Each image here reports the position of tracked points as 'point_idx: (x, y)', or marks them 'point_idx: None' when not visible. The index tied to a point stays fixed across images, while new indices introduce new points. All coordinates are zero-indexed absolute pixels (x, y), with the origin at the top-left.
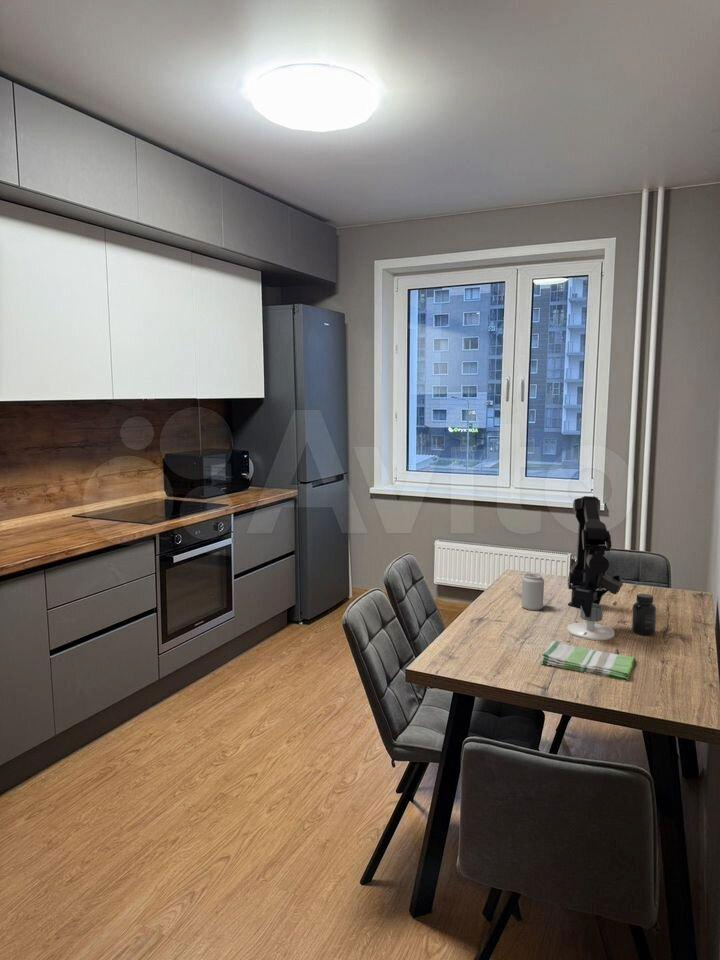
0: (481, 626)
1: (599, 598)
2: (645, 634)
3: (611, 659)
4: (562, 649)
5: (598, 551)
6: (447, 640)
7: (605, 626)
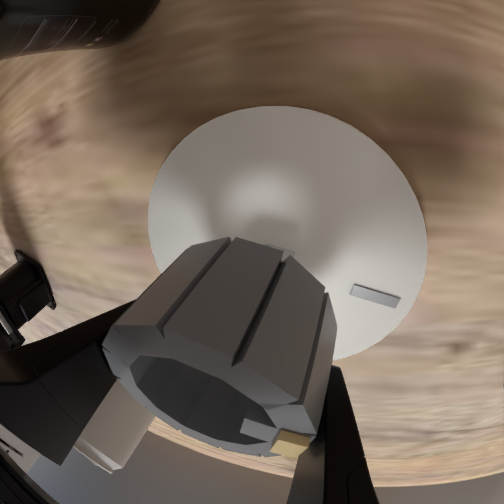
0: None
1: (53, 375)
2: None
3: None
4: None
5: None
6: (441, 481)
7: (161, 181)
